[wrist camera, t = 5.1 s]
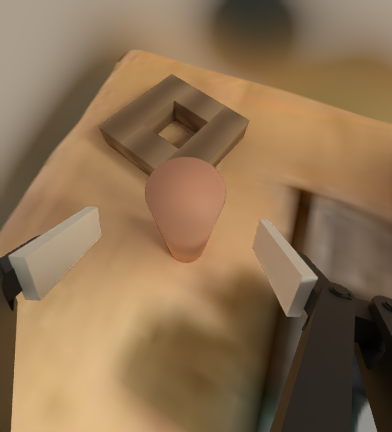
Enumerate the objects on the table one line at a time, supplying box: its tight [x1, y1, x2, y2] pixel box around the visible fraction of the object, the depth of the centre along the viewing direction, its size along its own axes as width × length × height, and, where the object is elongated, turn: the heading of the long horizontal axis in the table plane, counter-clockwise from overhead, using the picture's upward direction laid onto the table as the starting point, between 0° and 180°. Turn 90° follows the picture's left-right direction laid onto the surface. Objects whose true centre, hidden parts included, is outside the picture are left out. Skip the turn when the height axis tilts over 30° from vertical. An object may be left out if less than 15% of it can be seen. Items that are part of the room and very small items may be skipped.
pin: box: [145, 157, 226, 263], centre depth 15 cm, size 4×4×13 cm
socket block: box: [98, 74, 249, 176], centre depth 25 cm, size 14×14×3 cm
